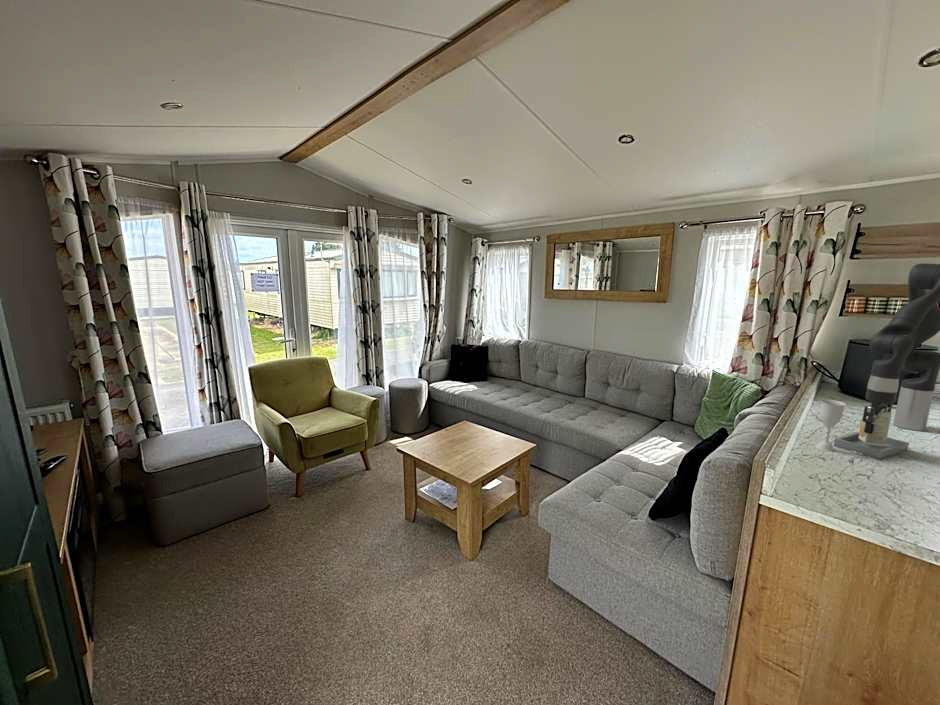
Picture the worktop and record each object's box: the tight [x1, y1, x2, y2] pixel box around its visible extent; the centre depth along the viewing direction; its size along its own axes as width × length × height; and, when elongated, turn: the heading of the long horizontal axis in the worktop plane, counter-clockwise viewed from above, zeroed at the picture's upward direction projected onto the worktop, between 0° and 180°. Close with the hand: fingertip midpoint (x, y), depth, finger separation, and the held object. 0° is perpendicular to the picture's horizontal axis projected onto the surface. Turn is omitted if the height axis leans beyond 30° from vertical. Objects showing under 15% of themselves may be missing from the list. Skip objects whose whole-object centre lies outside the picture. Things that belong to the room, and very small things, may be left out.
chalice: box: [815, 398, 847, 452], centre depth 142 cm, size 7×7×18 cm
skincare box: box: [858, 407, 892, 444], centre depth 143 cm, size 6×4×12 cm
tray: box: [833, 431, 910, 461], centre depth 144 cm, size 20×13×3 cm, turn 113°
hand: (873, 431), depth 143 cm, fingers closed on skincare box, 7 cm apart
